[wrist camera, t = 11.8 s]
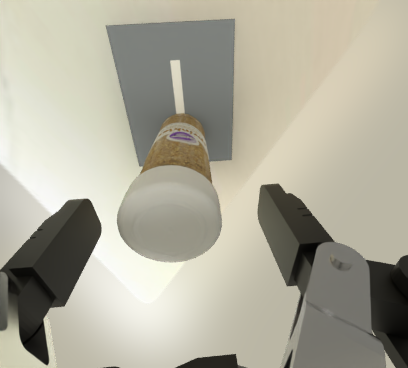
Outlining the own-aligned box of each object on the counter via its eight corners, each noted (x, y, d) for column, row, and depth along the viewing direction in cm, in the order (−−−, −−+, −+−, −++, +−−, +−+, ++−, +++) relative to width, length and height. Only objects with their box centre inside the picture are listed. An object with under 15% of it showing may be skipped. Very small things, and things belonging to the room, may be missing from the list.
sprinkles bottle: (203, 110, 19) (223, 181, 7) (205, 155, 21) (224, 262, 10) (155, 114, 19) (97, 191, 7) (162, 158, 21) (129, 271, 10)
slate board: (111, 28, 16) (105, 25, 15) (231, 21, 17) (234, 18, 15) (141, 161, 22) (139, 166, 21) (229, 155, 23) (231, 160, 22)
